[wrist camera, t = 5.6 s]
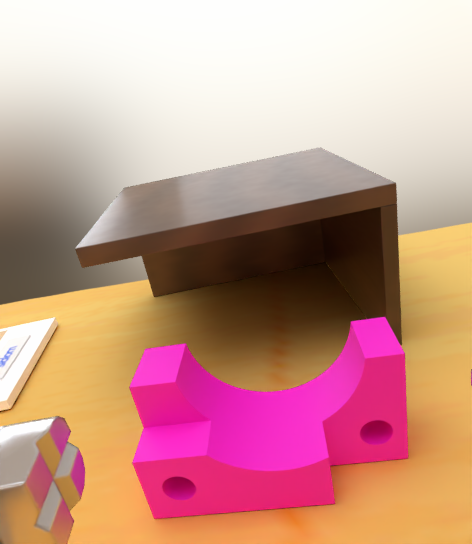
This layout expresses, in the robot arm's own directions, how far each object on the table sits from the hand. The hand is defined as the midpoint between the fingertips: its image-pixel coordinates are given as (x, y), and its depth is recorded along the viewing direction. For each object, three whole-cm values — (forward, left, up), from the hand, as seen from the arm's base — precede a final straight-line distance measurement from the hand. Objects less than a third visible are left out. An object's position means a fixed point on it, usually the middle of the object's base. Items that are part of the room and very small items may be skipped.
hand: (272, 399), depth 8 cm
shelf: (0, -32, -16) cm, 35 cm away
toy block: (0, -13, -16) cm, 21 cm away
